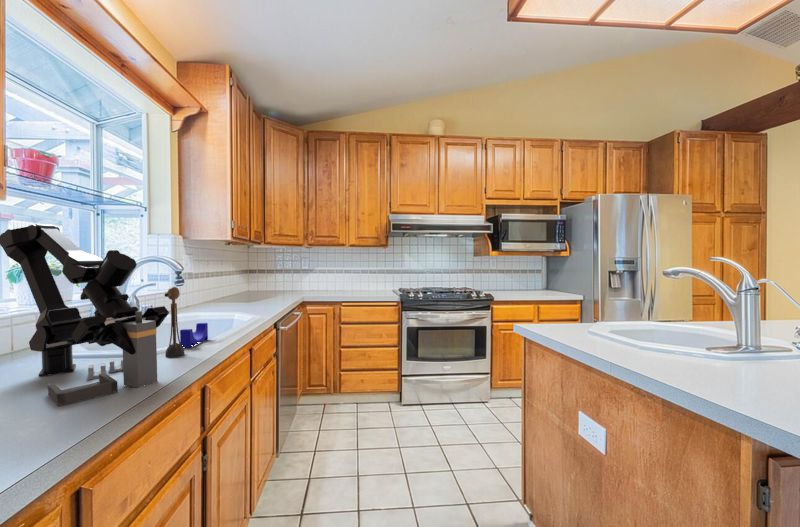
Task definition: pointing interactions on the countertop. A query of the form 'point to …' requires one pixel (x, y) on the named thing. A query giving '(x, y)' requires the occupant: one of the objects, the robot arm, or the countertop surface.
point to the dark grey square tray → (83, 391)
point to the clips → (104, 369)
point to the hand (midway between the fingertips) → (144, 350)
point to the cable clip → (194, 335)
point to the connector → (140, 353)
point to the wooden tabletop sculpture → (174, 326)
